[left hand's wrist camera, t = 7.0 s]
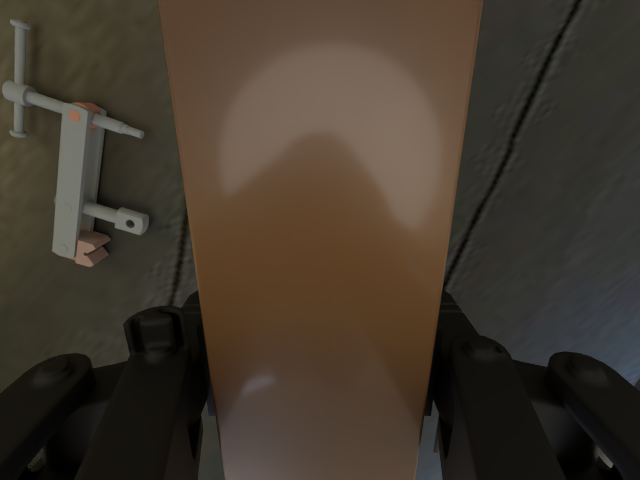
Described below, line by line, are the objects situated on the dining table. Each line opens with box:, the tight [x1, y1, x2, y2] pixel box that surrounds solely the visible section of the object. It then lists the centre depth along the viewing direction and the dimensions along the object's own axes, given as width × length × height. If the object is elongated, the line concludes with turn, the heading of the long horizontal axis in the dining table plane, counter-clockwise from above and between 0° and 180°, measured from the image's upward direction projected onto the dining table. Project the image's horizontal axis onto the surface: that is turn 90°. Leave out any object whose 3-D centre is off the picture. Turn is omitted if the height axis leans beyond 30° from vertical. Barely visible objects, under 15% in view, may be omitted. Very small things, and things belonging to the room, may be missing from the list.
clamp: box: [2, 19, 149, 267], centre depth 24 cm, size 15×2×10 cm
